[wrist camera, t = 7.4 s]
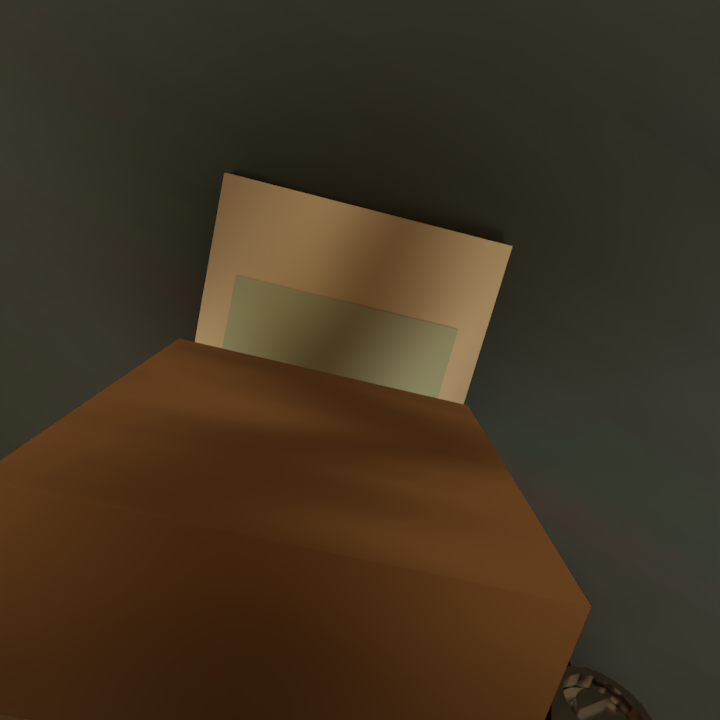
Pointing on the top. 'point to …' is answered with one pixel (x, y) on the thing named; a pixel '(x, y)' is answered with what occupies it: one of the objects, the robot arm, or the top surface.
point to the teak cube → (273, 555)
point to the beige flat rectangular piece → (348, 289)
